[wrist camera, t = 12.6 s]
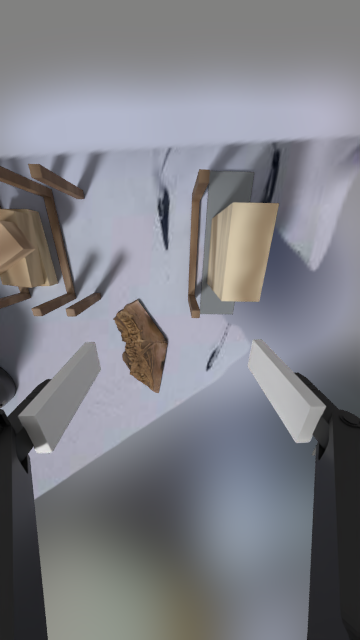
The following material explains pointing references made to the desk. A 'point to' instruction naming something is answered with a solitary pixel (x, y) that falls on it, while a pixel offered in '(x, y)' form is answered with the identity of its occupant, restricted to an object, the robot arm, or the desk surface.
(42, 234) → the offcut
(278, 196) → the desk surface
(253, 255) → the pale wooden block
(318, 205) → the desk surface
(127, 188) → the desk surface
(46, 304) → the rack
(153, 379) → the wooden fragment
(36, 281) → the offcut
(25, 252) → the offcut
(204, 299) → the felt mat
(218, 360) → the desk surface
